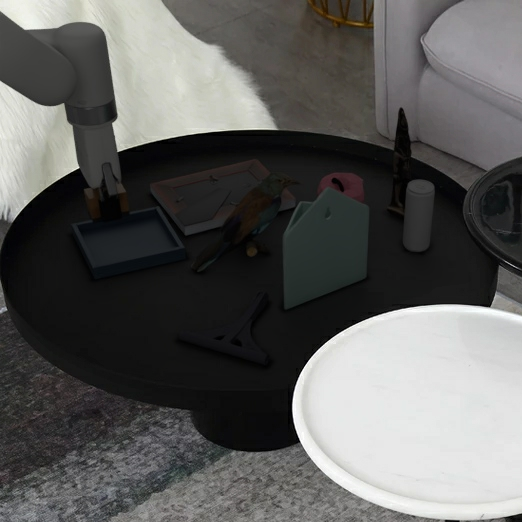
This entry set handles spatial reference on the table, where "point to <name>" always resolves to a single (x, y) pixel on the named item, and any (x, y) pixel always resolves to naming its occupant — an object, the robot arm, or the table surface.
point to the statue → (401, 166)
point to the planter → (324, 247)
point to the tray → (128, 243)
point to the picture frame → (211, 195)
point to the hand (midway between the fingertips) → (108, 212)
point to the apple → (344, 185)
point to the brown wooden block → (93, 203)
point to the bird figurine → (247, 221)
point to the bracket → (233, 334)
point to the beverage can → (418, 215)
